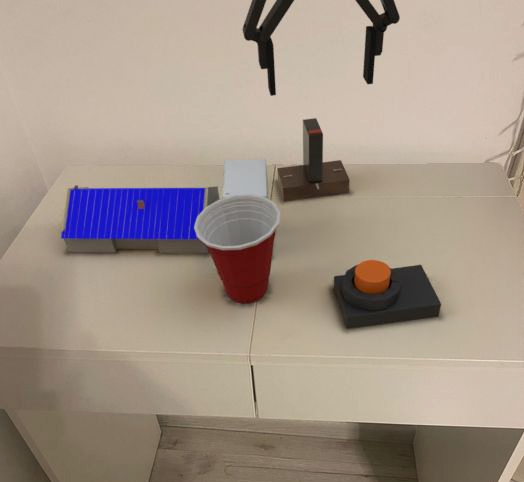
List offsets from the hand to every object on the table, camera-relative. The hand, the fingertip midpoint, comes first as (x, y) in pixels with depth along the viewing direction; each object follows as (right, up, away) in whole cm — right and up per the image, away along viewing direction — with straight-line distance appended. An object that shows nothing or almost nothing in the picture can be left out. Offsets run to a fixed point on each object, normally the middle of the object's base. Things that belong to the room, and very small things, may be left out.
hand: (320, 86), depth 77 cm
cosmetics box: (-10, -20, +8) cm, 24 cm away
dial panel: (0, -9, +16) cm, 19 cm away
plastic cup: (-10, -29, -1) cm, 31 cm away
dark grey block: (0, -8, +14) cm, 16 cm away
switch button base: (+8, -31, -4) cm, 32 cm away
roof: (-27, -18, +11) cm, 34 cm away
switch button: (+6, -29, -7) cm, 30 cm away
